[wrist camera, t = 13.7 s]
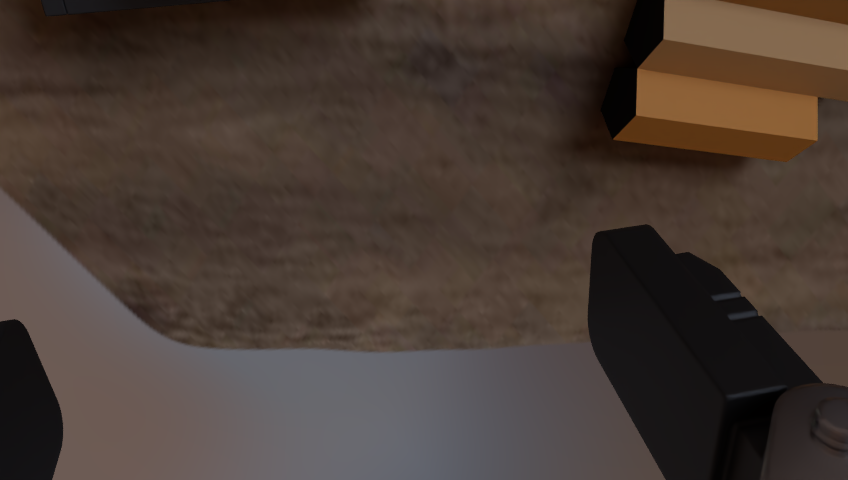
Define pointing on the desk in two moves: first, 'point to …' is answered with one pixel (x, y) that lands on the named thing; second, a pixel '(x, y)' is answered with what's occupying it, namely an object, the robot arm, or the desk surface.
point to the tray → (107, 5)
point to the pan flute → (729, 75)
